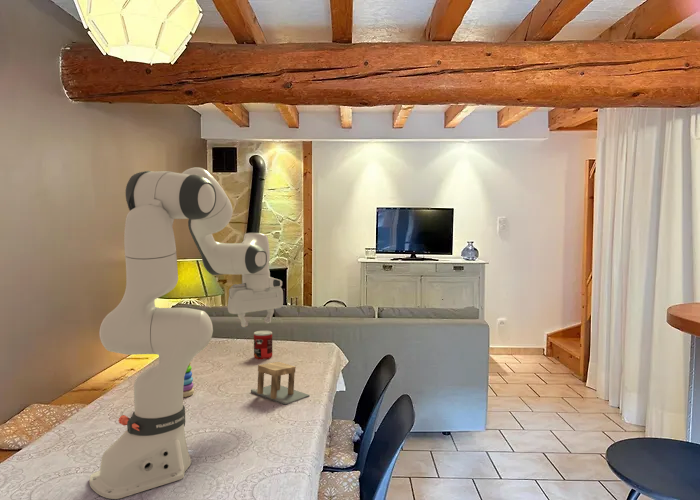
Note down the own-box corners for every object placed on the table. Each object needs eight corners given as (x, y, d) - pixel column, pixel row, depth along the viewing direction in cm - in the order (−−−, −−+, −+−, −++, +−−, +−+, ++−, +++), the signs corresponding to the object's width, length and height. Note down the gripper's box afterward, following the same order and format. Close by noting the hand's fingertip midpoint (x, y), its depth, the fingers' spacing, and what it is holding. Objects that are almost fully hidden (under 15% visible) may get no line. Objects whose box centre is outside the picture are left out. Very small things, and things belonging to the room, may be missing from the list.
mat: (285, 405, 163) (285, 402, 162) (250, 392, 174) (250, 389, 174) (309, 396, 171) (309, 393, 171) (275, 384, 183) (275, 381, 183)
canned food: (252, 356, 221) (251, 331, 220) (269, 354, 224) (269, 329, 223) (256, 360, 214) (256, 335, 213) (274, 358, 217) (274, 333, 216)
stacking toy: (186, 399, 168) (185, 344, 167) (165, 397, 169) (164, 342, 168) (198, 391, 175) (197, 338, 174) (177, 389, 177) (176, 337, 176)
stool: (275, 370, 165) (295, 366, 171) (258, 365, 171) (278, 361, 177) (273, 399, 165) (294, 394, 171) (256, 392, 171) (276, 388, 177)
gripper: (235, 285, 153) (235, 330, 154) (286, 280, 169) (286, 321, 169) (223, 284, 157) (223, 327, 158) (274, 279, 173) (274, 319, 173)
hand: (256, 324), depth 164 cm, fingers open, 8 cm apart
